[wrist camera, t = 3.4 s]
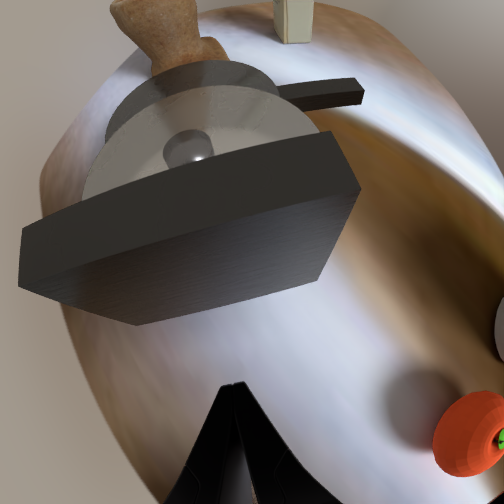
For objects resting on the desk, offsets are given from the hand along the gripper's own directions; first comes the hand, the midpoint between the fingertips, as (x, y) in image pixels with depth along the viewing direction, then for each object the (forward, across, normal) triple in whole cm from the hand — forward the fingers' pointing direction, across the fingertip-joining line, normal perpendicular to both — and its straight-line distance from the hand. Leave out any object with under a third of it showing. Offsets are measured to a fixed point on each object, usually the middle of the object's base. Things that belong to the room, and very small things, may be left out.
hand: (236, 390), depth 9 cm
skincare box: (+37, -16, -21) cm, 45 cm away
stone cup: (+33, +1, -17) cm, 37 cm away
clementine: (0, -14, +16) cm, 21 cm away
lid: (+10, 0, -6) cm, 11 cm away
